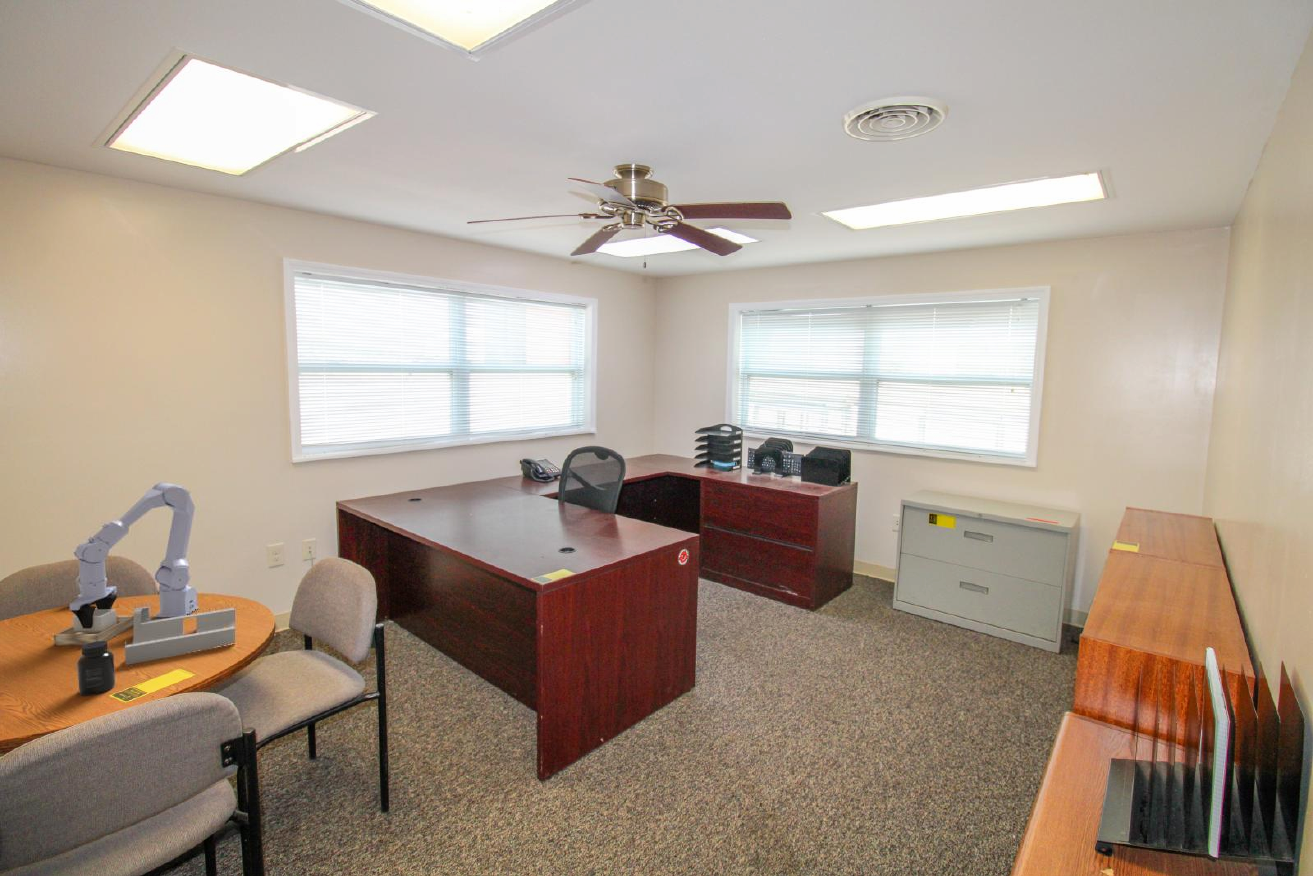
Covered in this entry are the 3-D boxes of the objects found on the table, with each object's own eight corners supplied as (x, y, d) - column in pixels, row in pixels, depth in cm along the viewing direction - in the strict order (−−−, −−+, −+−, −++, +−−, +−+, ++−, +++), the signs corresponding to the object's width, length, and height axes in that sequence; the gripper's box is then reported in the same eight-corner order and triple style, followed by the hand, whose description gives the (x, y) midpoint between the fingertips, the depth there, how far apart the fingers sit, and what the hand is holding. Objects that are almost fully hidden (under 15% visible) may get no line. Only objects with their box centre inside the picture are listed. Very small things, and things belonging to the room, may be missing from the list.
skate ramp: (125, 666, 166) (123, 631, 165) (136, 635, 184) (135, 604, 183) (235, 645, 180) (234, 613, 179) (235, 619, 198) (234, 590, 197)
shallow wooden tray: (135, 625, 190) (134, 615, 190) (98, 645, 176) (97, 635, 176) (94, 625, 189) (93, 615, 188) (54, 645, 175) (53, 635, 174)
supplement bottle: (122, 682, 157) (120, 639, 155) (99, 696, 150) (96, 651, 149) (95, 682, 156) (93, 638, 155) (71, 696, 150) (68, 650, 148)
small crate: (116, 624, 185) (115, 609, 185) (102, 632, 180) (100, 616, 179) (89, 624, 185) (88, 609, 184) (73, 632, 179) (72, 616, 179)
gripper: (98, 572, 187) (101, 614, 189) (57, 589, 173) (60, 634, 174) (122, 572, 188) (125, 614, 189) (83, 589, 174) (86, 634, 175)
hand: (95, 623), depth 182 cm, fingers closed on small crate, 5 cm apart
